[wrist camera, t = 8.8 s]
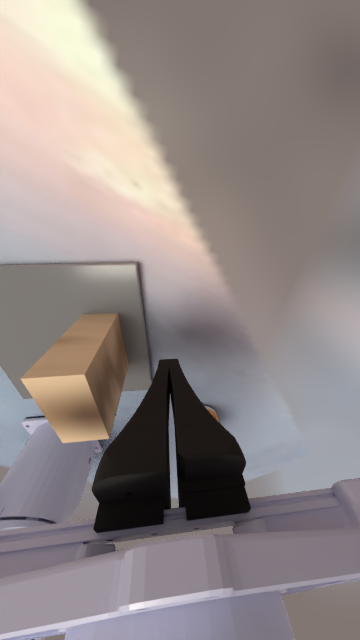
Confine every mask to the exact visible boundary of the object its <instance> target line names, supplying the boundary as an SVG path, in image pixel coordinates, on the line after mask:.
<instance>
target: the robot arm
mask: <svg viewBox="0 0 360 640" xmlns="http://www.w3.org/2000/svg"><path fill="white" fill-rule="evenodd" d="M170 394H171V402H172V409H173V417H174V425H175V441H176V459H177V478H178V497H179V508H172V509H171V495H170V464H169V430H168V426H169V404H170ZM22 425H23V426H24V427H25V429H26V430H27V431H28V432H29V434H30V435H31V437H30V439H29V440H28V442H27V443H26V445H25V447H24V448H23V450H22V451H21V453H20V454H19V456H18V457H17V459H16V461H15V462H14V464H13V465H12V467H11V468H10V470H9V471H8V473H7V475H6V476H5V478H4V479H3V481H2V482H1V484H0V640H44V639H45V637H48V636H53V635H59V634H66V635H65V640H295V637H294V634H293V630H292V627H291V625H290V621H289V618H288V615H287V612H286V609H285V606H284V602H283V599H282V596H281V595H285V594H290V593H296V592H301V591H306V590H312V589H316V588H322V587H328V586H333V585H338V584H343V583H348V582H354V581H360V478H356V479H348V480H341V481H338V482H336V483H334V484H333V485H332V488H327V489H319V490H311V491H304V492H296V493H288V494H281V495H273V496H266V497H257V498H250V499H248V497H247V493H246V490H245V487H244V486H245V481H244V478H243V475H242V473H243V470H244V468H245V465H246V461H245V457H244V455H243V453H242V450H241V448H240V446H239V444H238V443H237V441H236V439H235V437H234V436H233V435H231V434H230V433H229V432H228V431H227V430H226V429H225V428H224V427H223V426H222V425H221V424H220V423H219V422H218V421H217V420H216V419H215V418H214V417H213V415H212V414H211V413H210V412H209V411H208V410H207V409H206V407H205V406H204V405H203V404H202V402H201V401H200V400H199V398H198V397H197V396H196V394H195V393H194V391H193V390H192V388H191V386H190V385H189V383H188V381H187V379H186V378H185V376H184V374H183V372H182V369H181V367H180V364H179V361H178V359H163V360H160V361H159V364H158V368H157V371H156V374H155V376H154V379H153V381H152V383H151V385H150V388H149V390H148V392H147V394H146V395H145V397H144V399H143V401H142V402H141V404H140V406H139V407H138V409H137V410H136V412H135V413H134V415H133V416H132V418H131V419H130V421H129V422H128V423H127V424H126V426H125V427H124V428H123V430H122V431H121V432H120V434H119V435H118V436H117V437H116V438H115V439H114V441H113V442H112V443H111V444H110V445H109V446H108V448H107V449H106V450H105V452H104V454H103V456H102V458H101V461H100V463H99V466H98V469H97V472H96V475H95V479H94V482H93V486H92V492H93V494H94V496H95V497H96V499H97V500H98V502H99V507H98V511H97V515H96V518H95V519H88V520H80V521H73V522H69V521H70V520H71V518H72V517H73V515H74V514H75V512H76V510H77V508H78V506H79V503H80V500H81V497H82V494H83V490H84V487H85V484H86V481H87V477H88V474H89V471H90V468H91V464H92V461H93V458H94V455H95V453H100V452H101V451H102V447H101V445H100V443H99V441H98V440H91V441H81V442H70V443H62V441H61V440H60V438H59V437H58V435H57V434H56V432H55V431H54V429H53V428H52V426H51V425H50V423H49V422H48V420H47V419H46V417H43V418H31V419H24V420H23V422H22ZM234 525H236V526H234ZM227 526H233V534H221V535H220V534H201V535H193V536H186V537H179V538H172V539H165V540H158V541H152V542H145V543H140V544H136V545H133V546H131V547H129V548H126V549H122V550H117V551H116V550H115V545H114V544H107V543H114V542H121V541H128V540H135V539H142V538H149V537H156V536H164V535H171V534H178V533H184V532H192V531H199V530H206V529H213V528H220V527H227Z"/></svg>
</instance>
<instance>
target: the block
mask: <svg viewBox="0 0 360 640" xmlns="http://www.w3.org/2000/svg"><path fill="white" fill-rule="evenodd" d="M128 365H129V364H128V359H127V354H126V349H125V344H124V339H123V335H122V330H121V325H120V320H119V315H118V313H106V314H82V315H81V316H80V317H79V318H78V319H77V320H76V321H75V323H74V324H73V325H72V326H71V327H70V328H69V329H68V330H67V331H66V332H65V333H64V334H63V335H62V336H61V337H60V338H59V339H58V340H57V341H56V342H55V343H54V344H53V345H52V346H51V348H50V349H49V350H48V351H47V352H46V353H45V354H44V355H43V356H42V357H41V358H40V359H39V360H38V361H37V362H36V363H35V364H34V365H33V366H32V367H31V368H30V369H29V370H28V371H27V372H26V374H25V375H24V376H23V377H22V378H21V381H22V382H23V384H24V385H25V387H26V388H27V390H28V391H29V393H30V394H31V396H32V397H33V399H34V400H35V402H36V403H37V405H38V406H39V408H40V409H41V411H42V412H43V414H44V415H45V417H46V419H47V420H48V422H49V423H50V425H51V426H52V428H53V429H54V431H55V432H56V434H57V435H58V437H59V438H60V440H61V441H62V443H70V442H81V441H91V440H102V439H110V435H111V431H112V427H113V423H114V419H115V415H116V412H117V408H118V404H119V400H120V396H121V392H122V388H123V385H124V381H125V377H126V373H127V369H128Z"/></svg>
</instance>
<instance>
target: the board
mask: <svg viewBox="0 0 360 640" xmlns="http://www.w3.org/2000/svg"><path fill="white" fill-rule="evenodd" d="M106 313H118V315H119V320H120V325H121V330H122V335H123V339H124V344H125V349H126V354H127V359H128V364H129V365H128V369H127V373H126V377H125V381H124V385H123V388H122V391H134V390H148V389H149V388H150V385H151V383H152V377H151V368H150V360H149V352H148V344H147V336H146V327H145V319H144V311H143V303H142V295H141V286H140V278H139V270H138V262H117V263H65V264H14V265H0V366H1V367H2V369H3V370H4V372H5V373H6V375H7V376H8V377H9V379H10V380H11V382H12V383H13V385H14V386H15V387H16V389H17V390H18V392H19V393H20V394H21V396H22V397H23V399H28V398H33V397H32V396H31V394H30V393H29V391H28V390H27V388H26V387H25V385H24V384H23V382H22V381H21V378H22V377H23V376H24V375H25V374H26V372H27V371H28V370H29V369H30V368H31V367H32V366H33V365H34V364H35V363H36V362H37V361H38V360H39V359H40V358H41V357H42V356H43V355H44V354H45V353H46V352H47V351H48V350H49V349H50V348H51V346H52V345H53V344H54V343H55V342H56V341H57V340H58V339H59V338H60V337H61V336H62V335H63V334H64V333H65V332H66V331H67V330H68V329H69V328H70V327H71V326H72V325H73V324H74V323H75V321H76V320H77V319H78V318H79V317H80V316H81V315H82V314H106Z"/></svg>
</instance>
